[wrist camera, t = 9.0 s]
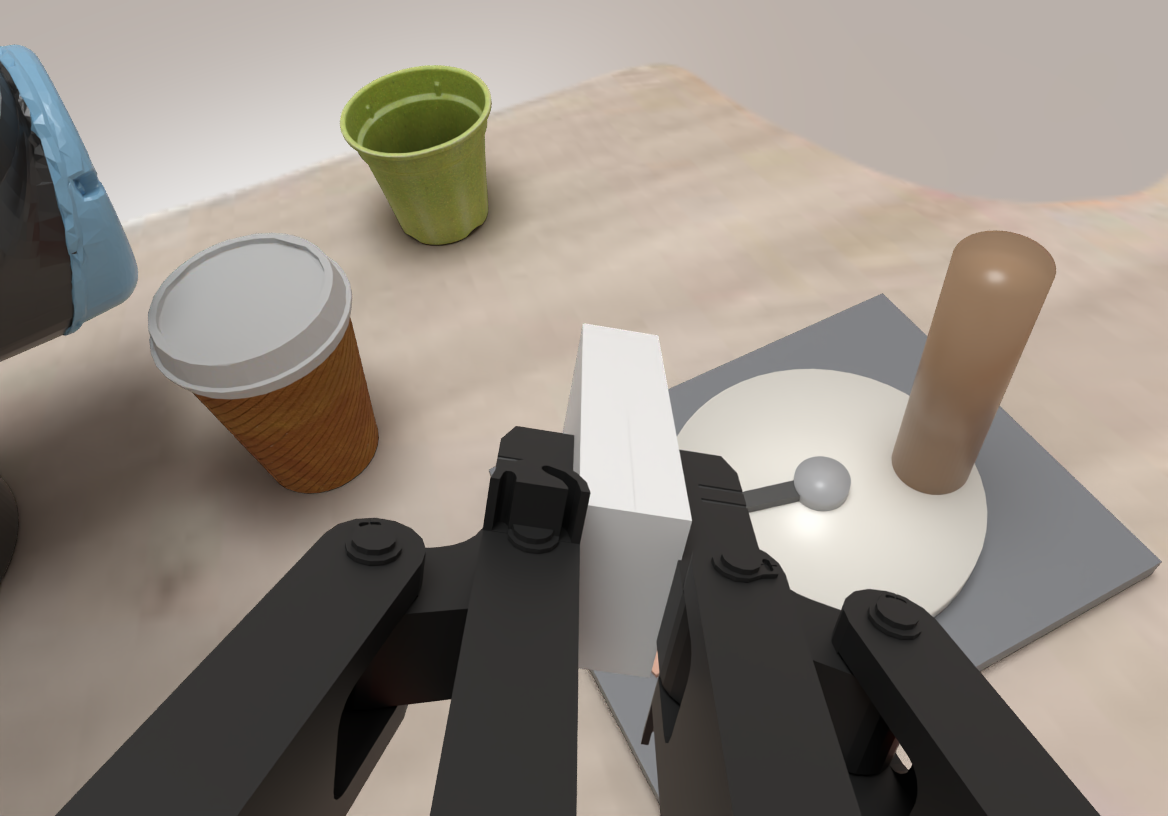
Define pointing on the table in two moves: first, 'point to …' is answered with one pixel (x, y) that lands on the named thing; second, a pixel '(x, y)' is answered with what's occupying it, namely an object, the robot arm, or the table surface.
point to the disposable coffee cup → (271, 355)
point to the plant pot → (425, 147)
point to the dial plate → (1013, 496)
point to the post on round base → (885, 442)
